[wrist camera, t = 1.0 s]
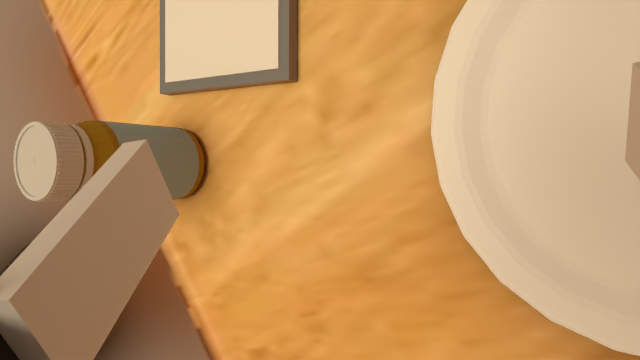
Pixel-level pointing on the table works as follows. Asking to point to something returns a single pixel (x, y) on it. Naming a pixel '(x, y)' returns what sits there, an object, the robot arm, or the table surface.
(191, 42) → the clipboard
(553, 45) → the plate
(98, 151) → the bottle
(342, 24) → the table surface
